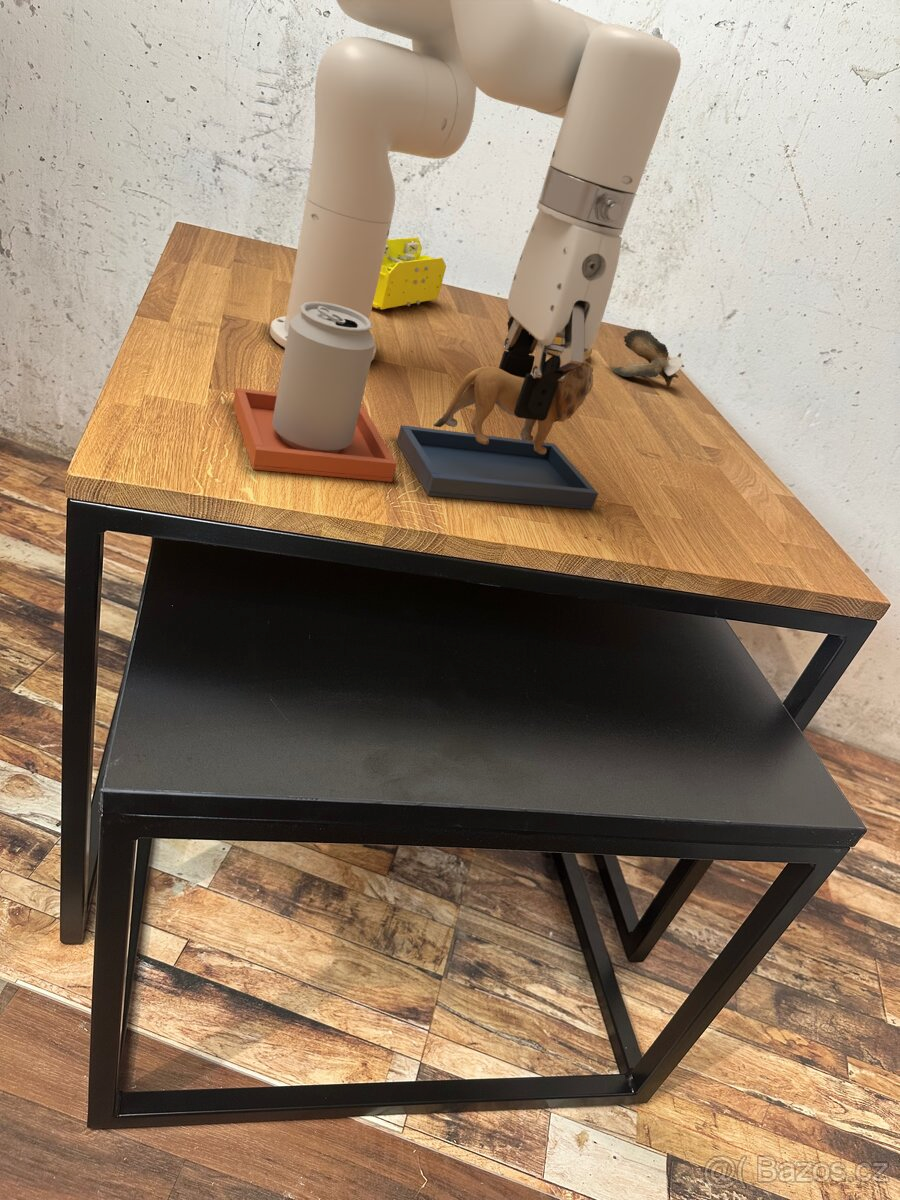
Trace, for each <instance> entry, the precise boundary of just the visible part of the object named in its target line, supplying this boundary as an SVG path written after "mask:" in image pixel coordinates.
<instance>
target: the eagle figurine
mask: <svg viewBox="0 0 900 1200" xmlns="http://www.w3.org/2000/svg"><path fill="white" fill-rule="evenodd" d="M623 338H624V339H623V341H624V343H625V344H624V346H625V347H626V348H628V349H629V351H631V352H633V353H635V354H636V355H637V356H638V357H641V358H643V359H645V360H646V361H647V362H648V363H647V362H646V363H644V362H643V363H630V364H628V365H626V366H618V367H615V368H613V369H612V372H613V373H614V374H617V375H618V376H621V377H627V378H632V377H633V378H634V377H639V376H641V377H648V378H656V377H658V376H659V375H660V376H661V377H662V378H663V379H664V381H665V387H667V389H669V388H670V387H671V383H672V380H673V379H674V378H676V379H678V378H679V375H678V374H677V373H678V372H679V371H680V370H681V368H684V367H685V364H683V362H684V361H683V359H682V353H681V352H680V353H678V355H676V356H675V357H671V358H670V359H668V358H669V350H668V347H667V346H666V344H665V343H663V342H660V341H659V340H658V338H656V337H655V336H654V335H653V334H652V332H651V331H649V330H645V329H636V328H634V329H633V330H630V331H629V332H627V333H626V334H625V335H624V336H623Z"/></svg>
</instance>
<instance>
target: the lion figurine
mask: <svg viewBox="0 0 900 1200" xmlns="http://www.w3.org/2000/svg"><path fill="white" fill-rule="evenodd" d="M593 373H594V367H593V366H592V365H591V363H589V362H588V361H587V360H586V359H585V360H583V363H582V364H581V365H580V366H578V367H576V368H574V369H571V370H570V371H569V372H568V373H567V374H565V376H564V379H563V381H562V382H559V383H558V386H557V389H556V392H555V395H554V398H553V401H552V403H551V406H550V409H549V412H548V415H547V418H546V419H545V420H543V421H540V420H532V419H525V418H524V424H523V427H522V429H521V431H520V437H519V439H520V440H523V441H525V442H532V441H533V444H534V450H535V451H536V452H538V453H539V454H542V455H543V454H546V448H545V447H543V446H542V445H543V442H545V441H546V440H547V437H548V436H549V434H550V432H551V430H552V428H553V425H554V423H557V422H560V423H561V422H563V423H564V422H565V421H566V420H569V419H571V418H572V417H573V415H574V414H575V413H576V412H577V411H578V409H579V408H580V407H581V406H582V404H584V403H585V400H586V398H587V396H588V394H589V393H590V392H591V391H592V389H593V385H594V374H593ZM524 379H525V378H521V377H517V376H514V375H511V374H509V373H507V372H505V371H504V370H502V369H500V368H499V367H497V366H492V365H487V366H485V365H484V366H480V367H477V368H475V369H473V370H472V371H470V372H469V373H468V374H467V375H466V376H465V377H464V378H463V379H462V381H461V382H460V383H459V385H458V387H457V388H456V390H455V392H454V393H453V396H452V398H451V400H450V402H449V405H448V407H447V409H446V411H445V413H444V414H443V416H442V417H441V418H439V419H438V420H437V421H436V422H435V423H434V424H433V425H432V426H434V427H436V428H442V427H443V426H444V425H446V426H448V427H451V428H455V427H457V425H458V420H457V419H456V418H454V415H455V414H457V412H459V411H460V410H462V409H465V408H468V407H469V406H472V405H474V407H475V413H474V416H473V418H472V420H471V421H470V426H471V429H472V432H473V434H474V435H475V438H476V440H477V442H479V443H481V444H484V445H487V444H489V438H488V437H487V436H488V435H487V436H485V435H486V434H484V433H483V431H482V430H483V429H482V428H483V424H484V422H485V420H486V419H487V417H488V416H489V415H490V414H491V413H492V411H493V410H494V408H495V406H496V405H497V406H498V407H499V408H500V409H501V410H502V411H503V412H505V413H506V414H508V415H511V416H513V417H516V418H518V417H517V416H516V415H515V414H514V410H515V407H516V404H517V401H518V398H519V395H520V392H521V389H522V386H523V382H524ZM536 422H537V431H536V434H535V437H534V436H533V435H532V432H533V428H534V427H535V424H536Z"/></svg>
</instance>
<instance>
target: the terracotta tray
mask: <svg viewBox="0 0 900 1200" xmlns="http://www.w3.org/2000/svg"><path fill="white" fill-rule="evenodd" d="M276 397H277V392H274V391H265V390H256V389H249V388H242V387H235V389H234V397H233V403H232V407H233V410H234V415H235V417H236V421H237V423H238V426H239V429H240V432H241V436H242V439H243V442H244V445H245V448H246V449H245V450H246V452H247V455H248V459H249V462H250V464H251V467H252V470H255V471H267V472H277V473H289V474H300V475H310V476H321V477H332V478H343V479H355V480H364V481H375V482H387V483H392V482H393V480H394V476H395V471H396V468H397V462H396V459H395V458H394V457H393V455H392V453H391V452H390V450H389V448H388V446H387V444H386V443H385V441H384V440H383V437H382V435H381V434H380V432H379V430H378V429H377V426H375V423H374V421H373V420H372V418H371V416H370V414H369V412H368V411H367V409H366V408H365V405H364V404H363V403H361V407H360V411H359V416H358V420H357V424H356V429H355V433H354V437H353V441H352V444H351V445H349V446H348V447H346V448H344V449H342V450H340V451H339V452H337V453H334V454H333V453H323V452H313V451H304V450H298V449H296V448H293V447H291V446H290V445H288V444H287V443H285V442H284V441H283V440H282V439H281V438H280V435H279V434H278V433H277V432H276V430H275V429H274V428H273V424H272V420H273V414H274V409H275V403H276Z"/></svg>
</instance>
